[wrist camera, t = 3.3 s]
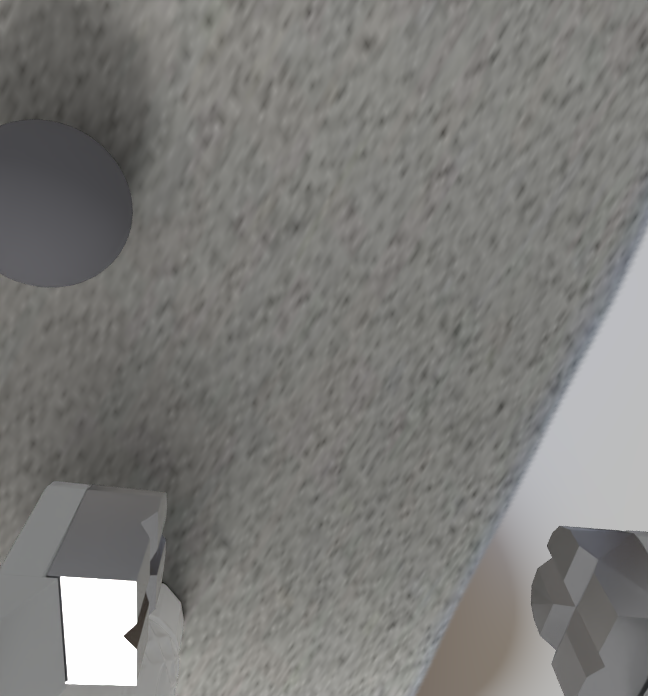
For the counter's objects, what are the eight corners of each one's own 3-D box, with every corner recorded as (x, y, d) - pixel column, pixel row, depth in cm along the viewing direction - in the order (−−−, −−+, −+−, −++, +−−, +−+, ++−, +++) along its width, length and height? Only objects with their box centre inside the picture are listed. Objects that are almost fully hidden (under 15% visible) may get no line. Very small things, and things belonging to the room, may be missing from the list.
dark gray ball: (178, 192, 23) (145, 234, 18) (87, 284, 25) (34, 344, 20) (59, 76, 21) (-13, 87, 16) (-32, 183, 23) (-122, 223, 18)
